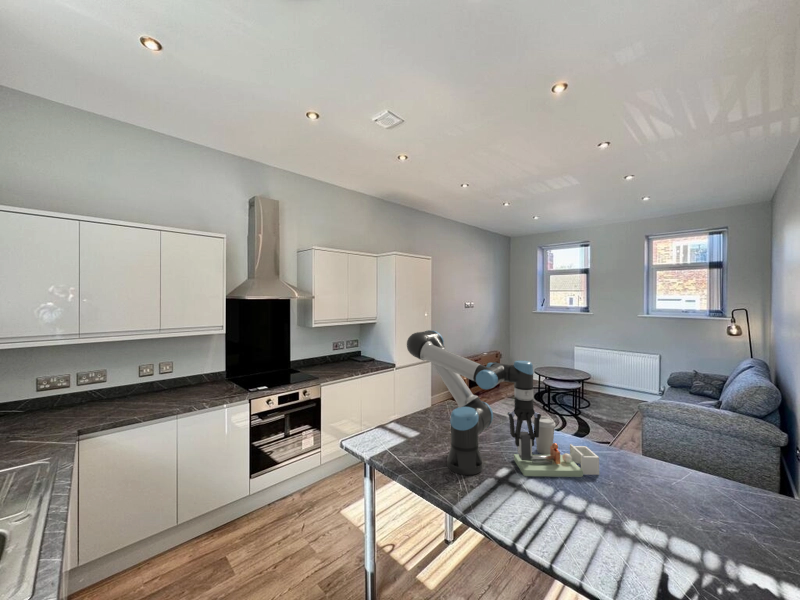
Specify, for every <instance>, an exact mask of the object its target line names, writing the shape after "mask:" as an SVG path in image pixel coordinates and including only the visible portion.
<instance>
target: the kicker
mask: <svg viewBox="0 0 800 600" xmlns="http://www.w3.org/2000/svg"><path fill="white" fill-rule="evenodd" d="M520 438H521V455H519V457H520V458H521V460H526V461H531V460H548V461H554V462H555V463H556V464H560V455H561V452H560V450H559V445H558V444H557V443H555V442H553V444H552V446H550V456H531V447H530V434H529V431H520Z"/></svg>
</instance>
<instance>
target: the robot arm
mask: <svg viewBox="0 0 800 600" xmlns="http://www.w3.org/2000/svg"><path fill="white" fill-rule="evenodd" d="M444 342H445V341H444V338H443V336H442V334H441V333H440V332H438V331H436V330H432V329H431V330H428V329H427V330H424V331H417V332H414V333H412V334H411V335H410V336H409V337H408V338H407V340H406V348H407V351H408V353H409V354H410V355H411V356H412V357H414V358H416V359H418V360H421V361H424V362H425V361H426V362H429V363H431V365H432V366H433V367H434V369H435V371H436V373H437V374H438V376H440V378H441V381H442V382H443V383H444V385H445V386H446V388H447V389H448V391H449V393H450V394H451V395H452V397H453V399H454V400H455V402H456V404H457V407H456V408H455V409H453V410H452V411H451V413H450V418H449V423H450V449H449V452H448V455H447V457H446V465H447V468H448V469H449V470H450V471H452V472H453V473H456V474H459V475H462V476H463V475H464V476H472V475H476V474H479V473H481V472H482V471H483V468H484V460H483V457H482V455H481V452H480V449H479V435H481V434H482V432H484V431H485V430H487V429H488V428H489V427H490V425H491V424H492V423H493V422H494V421H493V420H494V412H493V409H492V408H491V406H490V405H489V404H488V403H487V402H485V401H482V400H481V399H480V397H479V396H478V395H476V394H473V392H472V391H471V389H470V388H469V386H468V385H467V384H466V382H465V380H464V379H463V378H462V377H464V378H466V379H468V380H471V381H472V382H475V383H476V384H477V385H478V387H479V388H481V389H482V390H490V389H493V388H495V387H496V386H497V385H499V384H500V383H502V382H507V383H512V384H513V385H514V393H513V394H514V408H513V411H511V412H510V411H507V416H508V419H509V421H508V422H509V432H510V436H511V438H514V444H515V446H516V447H517V454H519V455H521V438H520V432H522V431H521V430H522V424H523V422H524V421H525V422H526V426H527V430H528V431H527V432H528V433H529V434H530V447H531V455H532V454H533V447H535V441H536V437H537V438H538V437H539V420H540V417H541V416H542V414H541V413H540V412H538V411H535V410H534V408H535V407H534V404H535V403H534V368H533V366H534V365H533V363H532V361H529V360H514V362H513V364H508V363H507V364H506V363H500V362H499V363H498V362H488V363H487V365H486V366H485V365H483V364H481V363H478V362H476V361H473V360H471V359H468V358H466V357H463V356H462V355H458V354H456V353H453V352H451V351H449V350H447V349H446V347H445V343H444ZM515 416H516V425H515V420H514V419H515ZM533 417H534V418H533ZM532 418H533V421H534V423H533V421H532ZM532 423H533V424H532Z"/></svg>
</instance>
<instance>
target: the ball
mask: <svg viewBox="0 0 800 600" xmlns="http://www.w3.org/2000/svg"><path fill="white" fill-rule="evenodd" d="M562 455H563V456H562V458H563V460H564V461H565V462H566V463H570V462H571V461H572V457H571V455H570V453H566V452H565V453H563V454H562Z"/></svg>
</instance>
